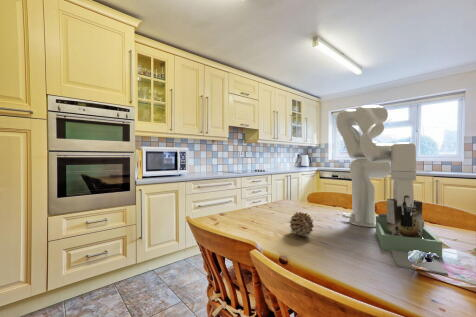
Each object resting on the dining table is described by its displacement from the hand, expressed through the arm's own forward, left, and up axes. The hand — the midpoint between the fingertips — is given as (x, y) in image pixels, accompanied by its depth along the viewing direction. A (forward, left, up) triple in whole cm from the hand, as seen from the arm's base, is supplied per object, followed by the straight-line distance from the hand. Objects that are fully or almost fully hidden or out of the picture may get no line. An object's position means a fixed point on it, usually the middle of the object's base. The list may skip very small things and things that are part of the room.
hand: (403, 223), depth 82 cm
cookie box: (0, 0, -8) cm, 8 cm away
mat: (0, -17, -7) cm, 19 cm away
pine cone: (-37, -5, -8) cm, 38 cm away
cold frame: (0, 0, -7) cm, 7 cm away
